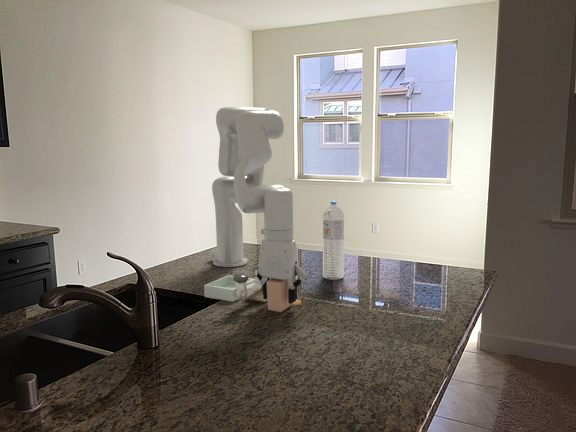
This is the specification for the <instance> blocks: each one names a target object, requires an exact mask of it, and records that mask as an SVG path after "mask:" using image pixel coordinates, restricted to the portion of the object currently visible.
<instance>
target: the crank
mask: <svg viewBox="0 0 576 432" xmlns="http://www.w3.org/2000/svg"><path fill="white" fill-rule="evenodd" d="M248 278H249V275H248V274H247V273H236V274H234V275H233V280H234V281H235V290H236V299H237V300H245V299H247V297H248V296H250V295H251V294H253V293H255V292H257V291H259V290H261V289H263V286H262V284H261V283H260V282H261V281H260V280H259V279H258V278H257V275H256V276H254V279H255V282H253V283H251V284H249V285H247V280H248Z"/></svg>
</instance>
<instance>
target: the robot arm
mask: <svg viewBox="0 0 576 432" xmlns="http://www.w3.org/2000/svg"><path fill="white" fill-rule="evenodd" d="M215 124H216V128H217V130H218V133H219V135H218V136H219V149H218V150H219V151H218V163H217V164H218V171H219V173H220V174H221V175H223V176H221V177H218V178H216V179H214V180H213V182H212V185H211V190H212V191H211V192H212V196H213V201H214V211H215V234H216V236H215V237H216V238H215V239H216V249H211V250H210V252H209V256H211V257H214V259H213V260H212V262H213V263H212V265H214V266H216V267H220V268H221V267H222V268H234V267H236V268H237V267H241V266H244V265H247V264H248V262H249V261H248V259H249V258H247V257H245V256H244V237H243V236H244V232H243V231H244V229H243V213H244V214H262V213H263V216H264V217H263V218H264V220H263V221H264V222H263V223H264V224H263V225H264V227H263V228H262V229H261V230H260V234H261V235H263V239H261V241H260V248H259V257H258V263H257V264H256V265H255V266H254V267H252V271H253V272H254V274H255V275H256V276H257V278H258V279H259V280H260V281H261V282H260V283H261V284H262V286H263V299H267V282H266V281H268V280H270V279H272V278H273V279H280V280H287V282H288V284H289V286H290V289H289V290H288V302H289V304H292V303H294V302H295V301H296V299H298V287H299V286H300V285H301V284H302V283H303V282H304V281H305V279H306V278H307V277H308V273H307V272H306V271H305V270H304V269H303V268H302V267H301V266H300V264H299V253H298V252H299V251H298V247H297V243H296V240H295V239H294V207H293V206H294V200H293V198H294V197H293V195H294V194H293V191H292V190H291V189H290V188H288V187H286V186H284V185H282V184H263V179H264V172H265V165H266V164H267V163H268V162H270V161H271V159H272V157H273V151H272V147H271V144H270V140H278V139H280V138H281V137H283V134H284V130H285V123H284V119H283V117H282V115H281V114H280V113H279V112H278V111H276V110H274V109H270V108H267V107H246V106H245V107H241V106H240V107H239V106H235V107H234V106H231V107H230V106H229V107H228V106H227V107H226V106H225V107H220V108H219V109H218V110H217V112H216V115H215ZM235 204H237V205H238V207H237V206H236V205H235ZM242 212H243V213H242ZM297 276H299V277H298V279H297Z"/></svg>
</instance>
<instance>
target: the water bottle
mask: <svg viewBox="0 0 576 432" xmlns="http://www.w3.org/2000/svg"><path fill="white" fill-rule="evenodd" d="M344 221H345V214H344V212H343V210H342V209H341V208H340V207H338V206H337V200H332V201H330V206H328V208H325V210H324V212H323V214H322V222H323V223H322V224H323V225H322V229H323V230H322V276H323V277H322V278H323V279H326V280H329V281H337V280H338V281H339V280H341V279H343V278H344V276H345V237H344V236H345V235H344V234H345V233H344V230H345V227H344V225H345V224H344V223H345V222H344Z"/></svg>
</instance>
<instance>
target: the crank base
mask: <svg viewBox="0 0 576 432" xmlns="http://www.w3.org/2000/svg"><path fill="white" fill-rule="evenodd" d="M246 299H248V300H253V301H257V302H258V301H259V302H264V303H265V302H267V299H263V289H261V290H259V291H257V292H255V293H253V294H251V295H250V296H248V297H247V298H246ZM301 303H302V301H301V300H300V299H298V298H297V299H296V301H295V302H294V303H292V305H291V306H292V307H293V306H299V305H301ZM291 306H290V307H291Z"/></svg>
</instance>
